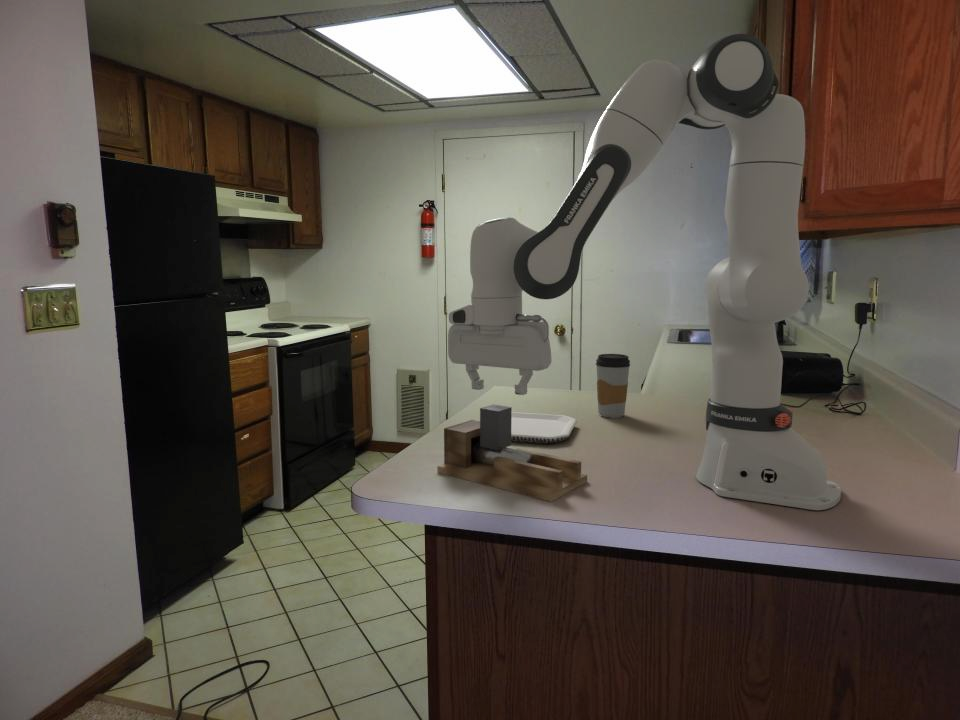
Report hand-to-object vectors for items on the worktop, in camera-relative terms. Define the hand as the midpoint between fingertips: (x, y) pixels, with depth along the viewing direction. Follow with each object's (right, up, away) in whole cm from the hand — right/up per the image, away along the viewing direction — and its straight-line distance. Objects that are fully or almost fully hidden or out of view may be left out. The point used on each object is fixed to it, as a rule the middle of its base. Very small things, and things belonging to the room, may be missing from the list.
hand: (498, 391), depth 115 cm
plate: (+7, -11, +31) cm, 34 cm away
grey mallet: (-1, -13, +2) cm, 14 cm away
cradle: (+2, -15, 0) cm, 15 cm away
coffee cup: (+29, -8, +47) cm, 56 cm away
